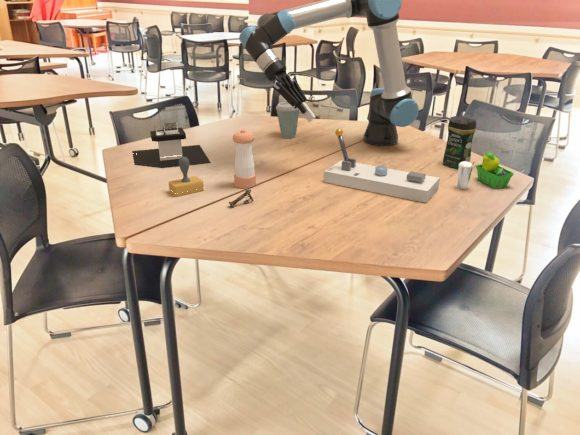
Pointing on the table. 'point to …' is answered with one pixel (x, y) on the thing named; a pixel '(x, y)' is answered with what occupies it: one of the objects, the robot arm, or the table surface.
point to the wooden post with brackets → (242, 198)
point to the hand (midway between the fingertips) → (312, 119)
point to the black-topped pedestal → (169, 150)
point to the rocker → (416, 176)
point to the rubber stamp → (185, 181)
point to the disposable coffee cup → (287, 119)
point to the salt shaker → (244, 160)
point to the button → (381, 170)
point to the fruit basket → (493, 172)
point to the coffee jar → (459, 141)
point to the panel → (380, 181)
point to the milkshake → (464, 174)
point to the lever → (342, 144)
